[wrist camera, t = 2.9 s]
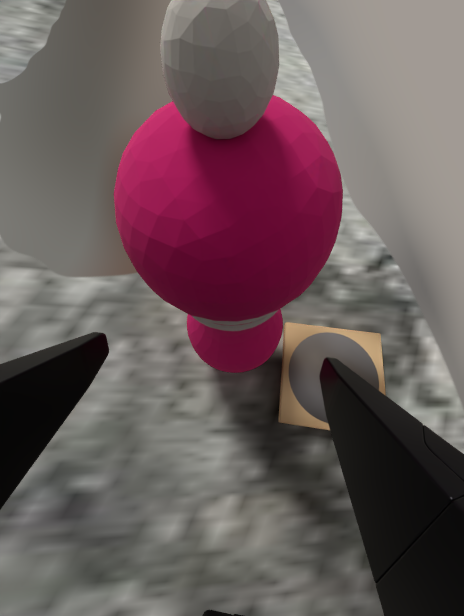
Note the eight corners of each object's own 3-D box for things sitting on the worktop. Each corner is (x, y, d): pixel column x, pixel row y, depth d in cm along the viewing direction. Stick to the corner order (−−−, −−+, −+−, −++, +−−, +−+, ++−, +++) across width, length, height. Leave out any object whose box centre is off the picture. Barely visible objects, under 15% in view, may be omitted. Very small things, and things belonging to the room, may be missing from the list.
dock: (383, 437, 18) (389, 439, 18) (278, 421, 19) (280, 422, 18) (375, 335, 21) (380, 333, 20) (284, 324, 22) (286, 322, 21)
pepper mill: (184, 324, 22) (-133, -55, 3) (246, 288, 23) (285, -149, 4) (221, 391, 20) (-85, 460, 1) (288, 348, 21) (738, -1, 2)
